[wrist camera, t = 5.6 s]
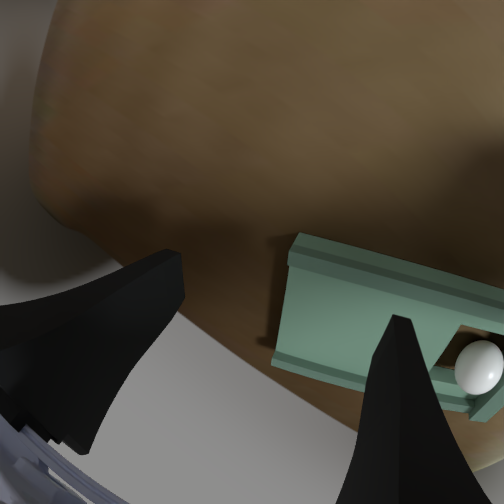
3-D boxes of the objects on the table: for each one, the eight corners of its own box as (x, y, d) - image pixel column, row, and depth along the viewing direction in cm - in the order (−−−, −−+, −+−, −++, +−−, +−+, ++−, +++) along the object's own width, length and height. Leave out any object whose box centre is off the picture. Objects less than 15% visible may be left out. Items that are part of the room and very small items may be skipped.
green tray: (553, 305, 14) (565, 334, 12) (484, 395, 21) (486, 422, 18) (299, 232, 20) (285, 257, 18) (280, 345, 26) (267, 371, 24)
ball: (464, 406, 15) (446, 355, 18) (464, 402, 18) (447, 358, 21) (515, 377, 14) (494, 326, 16) (507, 377, 17) (489, 334, 19)
